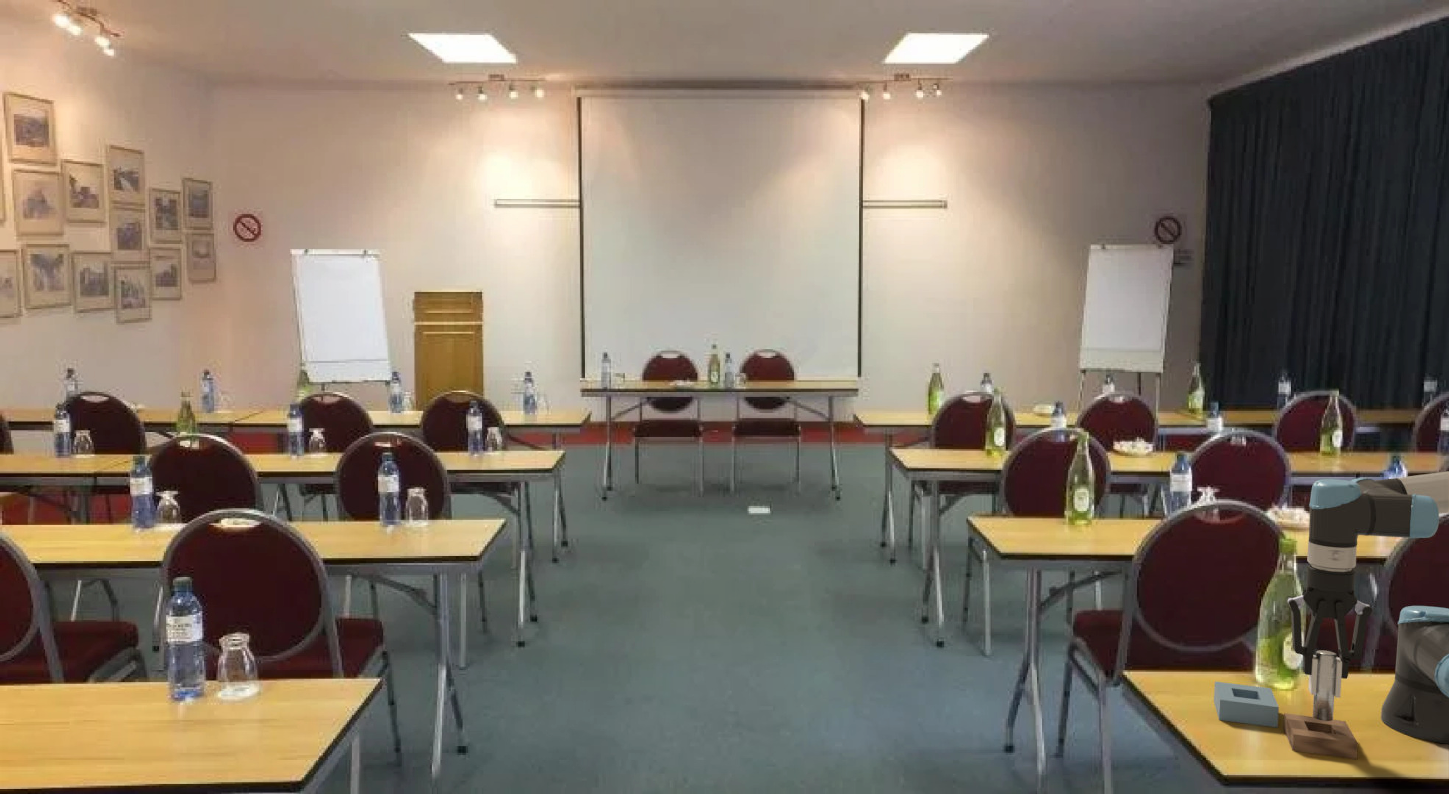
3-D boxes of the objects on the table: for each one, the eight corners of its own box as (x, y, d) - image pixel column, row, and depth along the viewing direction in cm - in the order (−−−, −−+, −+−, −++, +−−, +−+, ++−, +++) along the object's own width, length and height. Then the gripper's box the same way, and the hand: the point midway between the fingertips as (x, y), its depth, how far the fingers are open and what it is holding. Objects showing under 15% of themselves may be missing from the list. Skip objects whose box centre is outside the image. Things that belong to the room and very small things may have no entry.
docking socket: (1269, 708, 204) (1270, 688, 204) (1277, 727, 195) (1278, 707, 194) (1213, 700, 208) (1214, 681, 207) (1219, 719, 198) (1220, 699, 198)
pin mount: (1344, 736, 191) (1345, 721, 191) (1356, 759, 182) (1357, 743, 181) (1283, 728, 194) (1284, 713, 194) (1292, 750, 185) (1293, 734, 185)
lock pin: (1331, 715, 188) (1334, 651, 187) (1334, 722, 185) (1338, 657, 184) (1311, 713, 190) (1314, 649, 188) (1314, 719, 187) (1317, 655, 185)
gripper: (1283, 567, 184) (1277, 695, 186) (1389, 575, 178) (1381, 707, 181) (1276, 557, 191) (1270, 680, 193) (1378, 565, 185) (1370, 691, 188)
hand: (1324, 693), depth 187 cm, fingers closed on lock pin, 3 cm apart
